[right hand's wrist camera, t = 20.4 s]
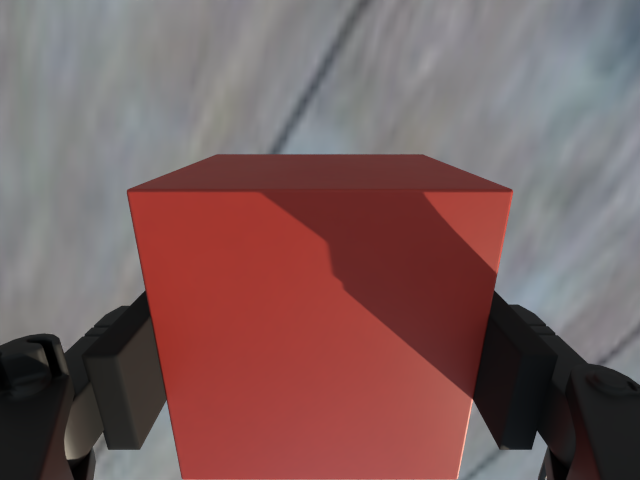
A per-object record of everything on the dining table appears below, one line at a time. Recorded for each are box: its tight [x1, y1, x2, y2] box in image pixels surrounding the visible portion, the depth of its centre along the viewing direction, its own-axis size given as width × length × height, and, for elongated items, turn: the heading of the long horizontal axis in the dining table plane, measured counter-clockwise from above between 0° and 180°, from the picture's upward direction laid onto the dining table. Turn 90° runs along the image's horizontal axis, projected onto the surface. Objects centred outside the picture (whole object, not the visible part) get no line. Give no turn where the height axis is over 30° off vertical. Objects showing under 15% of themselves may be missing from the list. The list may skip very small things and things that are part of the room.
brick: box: [127, 154, 513, 479], centre depth 12 cm, size 9×9×7 cm
